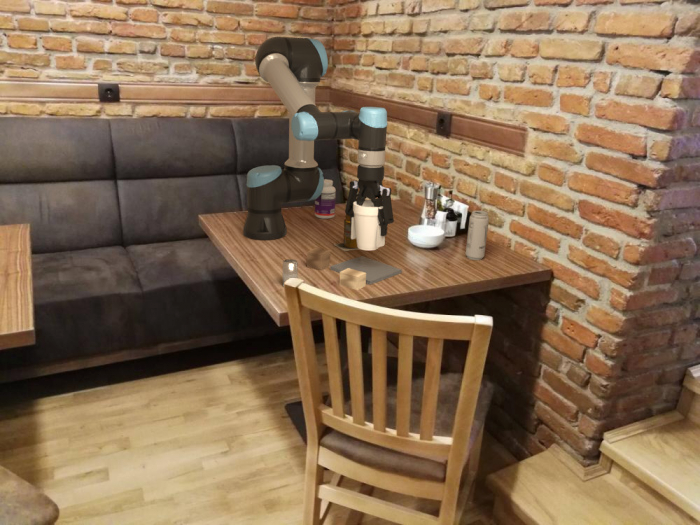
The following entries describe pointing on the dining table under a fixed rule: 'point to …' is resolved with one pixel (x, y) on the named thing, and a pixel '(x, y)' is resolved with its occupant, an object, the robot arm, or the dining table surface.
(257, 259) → the dining table surface
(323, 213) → the pill bottle
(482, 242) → the energy drink can
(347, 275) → the beech block
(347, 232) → the condiment
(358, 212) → the foam cup
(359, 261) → the slate board
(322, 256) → the brown cube
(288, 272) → the metal shaker
